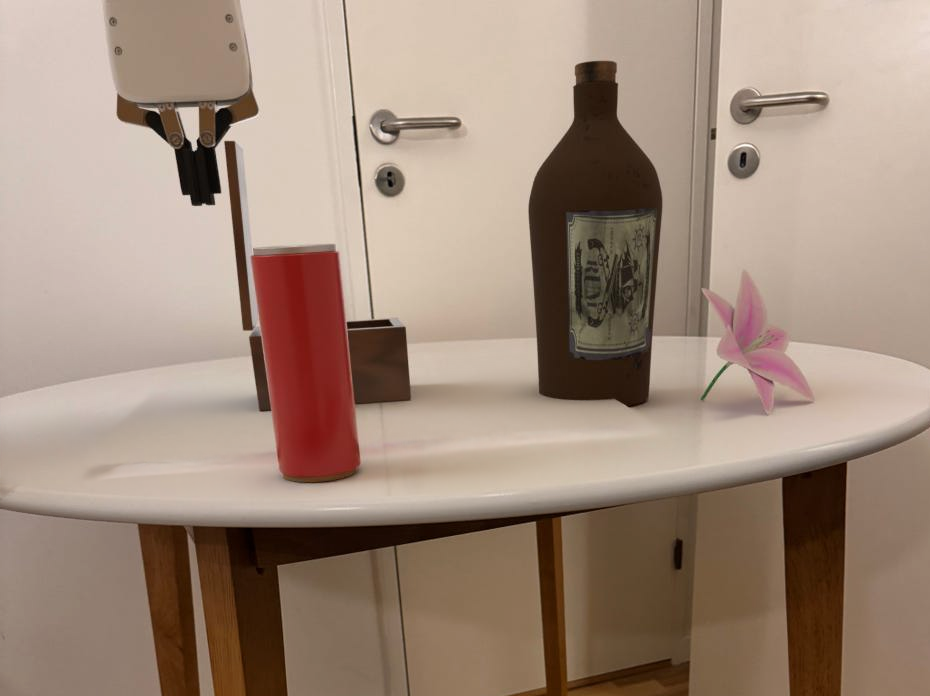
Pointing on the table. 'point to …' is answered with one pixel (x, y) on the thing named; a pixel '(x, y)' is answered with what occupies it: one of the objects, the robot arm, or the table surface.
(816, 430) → the table surface
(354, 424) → the can
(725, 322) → the lily
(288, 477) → the pad
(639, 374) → the brown liquor bottle
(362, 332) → the dark wooden box
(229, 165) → the lid
